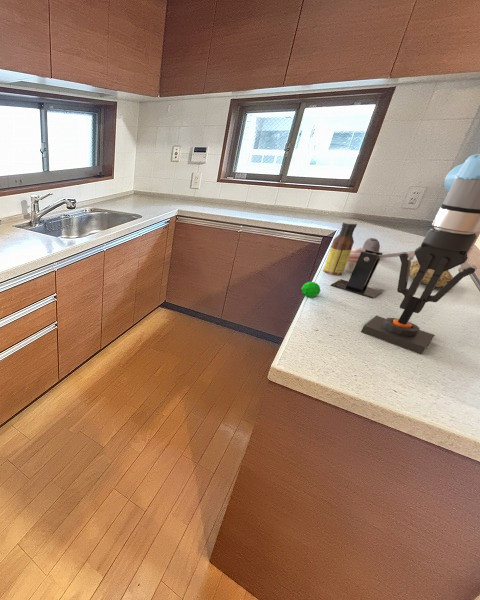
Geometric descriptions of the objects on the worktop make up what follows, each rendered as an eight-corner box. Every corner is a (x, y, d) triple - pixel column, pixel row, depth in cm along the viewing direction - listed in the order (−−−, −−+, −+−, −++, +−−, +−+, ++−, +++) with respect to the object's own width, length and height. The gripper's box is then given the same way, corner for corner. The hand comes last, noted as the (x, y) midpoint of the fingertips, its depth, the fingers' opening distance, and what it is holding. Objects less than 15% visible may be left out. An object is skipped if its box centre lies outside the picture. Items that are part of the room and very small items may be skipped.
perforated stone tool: (377, 261, 140) (384, 246, 137) (362, 259, 143) (368, 243, 140) (374, 253, 151) (380, 238, 148) (359, 250, 154) (366, 236, 151)
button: (410, 329, 83) (414, 323, 82) (406, 333, 81) (410, 327, 80) (392, 323, 85) (396, 317, 85) (388, 327, 84) (391, 321, 83)
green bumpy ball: (319, 296, 106) (324, 283, 104) (315, 300, 103) (320, 287, 101) (301, 291, 109) (306, 278, 107) (297, 295, 106) (302, 282, 104)
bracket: (380, 294, 109) (400, 255, 103) (371, 300, 104) (391, 260, 98) (339, 282, 118) (355, 245, 112) (329, 287, 113) (345, 249, 107)
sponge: (402, 272, 132) (397, 274, 118) (417, 255, 128) (414, 254, 115) (443, 289, 124) (443, 292, 110) (460, 271, 120) (462, 272, 107)
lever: (428, 253, 96) (427, 246, 96) (424, 257, 94) (423, 248, 93) (367, 260, 108) (366, 253, 108) (361, 263, 105) (360, 256, 105)
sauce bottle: (341, 273, 125) (362, 222, 117) (341, 278, 121) (364, 225, 112) (321, 270, 129) (340, 220, 120) (321, 274, 124) (341, 223, 115)
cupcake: (358, 278, 122) (369, 253, 117) (330, 270, 128) (340, 246, 124) (367, 273, 126) (379, 249, 122) (340, 266, 133) (350, 242, 129)
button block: (430, 342, 83) (438, 328, 81) (420, 354, 77) (429, 341, 76) (372, 322, 91) (379, 309, 90) (360, 332, 86) (366, 319, 84)
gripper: (500, 234, 69) (441, 328, 80) (418, 222, 78) (376, 307, 89) (495, 239, 65) (434, 337, 76) (410, 225, 75) (366, 314, 85)
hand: (403, 321), depth 82 cm, fingers closed
